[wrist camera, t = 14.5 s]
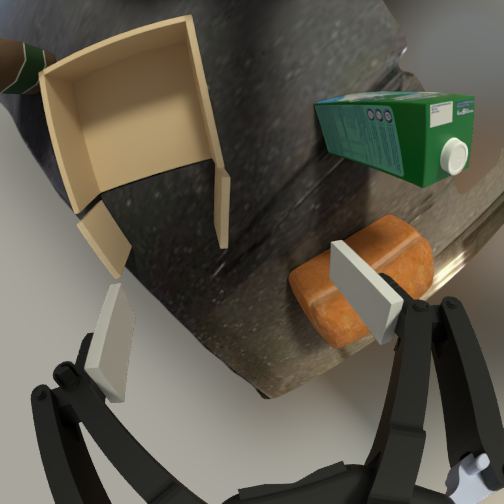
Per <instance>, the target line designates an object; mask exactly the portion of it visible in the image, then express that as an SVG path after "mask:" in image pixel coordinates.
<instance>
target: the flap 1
mask: <svg viewBox="0 0 504 504" xmlns="http://www.w3.org/2000/svg"><path fill="white" fill-rule="evenodd" d="M77 227H78V228H79V230H80V231H81V233H82V234H83V236H84V237H85V239H86V240H87V241H88V243H89V245H90V246H91V247H92V249H93V250H94V252H95V253H96V254H97V256H98V257H99V259H100V260H101V261H102V263H103V264H104V265H105V267H106V268H107V269H108V271H109V272H110V273H111V275H112V276H113V277H114V278H115V279H118V278H119V277H121V274H122V272H123V269H124V266H125V263H126V261H127V258H128V255H129V253H130V250H131V248H132V246H131V245H130V243H129V242H128V240H127V239H126V237H125V236H124V234H123V233H122V231H121V230H120V228H119V227H118V225H117V224H116V222H115V221H114V219H113V218H112V216H111V214H110V213H109V211H108V210H107V208H106V206H105V205H104V203H103V202H102V200H101V201H99V202H98V203H97V204H96V205H95V206H94V207H93V208H92V209H91V210H90V211H89V212H88V213H87V214H86V215H85V216H84V217H83V218H82V219H81V220H80V222H79V223H78V224H77Z"/></svg>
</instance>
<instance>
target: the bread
mask: <svg viewBox="0 0 504 504" xmlns="http://www.w3.org/2000/svg"><path fill="white" fill-rule="evenodd" d="M343 242H344V243H345V244H347V245H348V246H349V247H350V248H351V249H352V250H353V251H354V252H355V253H356V254H357V255H358V256H359V257H361V258H362V259H363V260H364V261H365V262H366V263H367V264H368V265H369V266H370V267H371V268H372V269H373V270H374V271H375V272H376V273H377V274H379V273H384V274H386V275H388V276H390V277H391V278H392V279H393V280H394V281H395V282H397V283H398V284H399V285H400V286H401V287H402V288H403V289H404V290H405V291H406V292H407V293H408V294H409V295H410V296H411V297H412V298H413V299H414V300H415V299H419V298H420V297H421V296H422V295H423V294H424V293H425V292H426V291H427V290H428V289H429V288H430V287H431V285H432V282H433V274H434V272H433V255H432V250H431V246H430V244H429V243H428V241H427V240H426V239H425V238H423V237H421V235H420V233H419V232H418V231H417V230H416V229H414V228H413V227H412V226H411V225H409V224H408V223H406V222H404V221H403V220H401V219H399V218H397V217H395V216H393V215H386V216H383V217H382V218H380V219H379V220H377V221H375V222H374V223H372V224H370V225H368V226H367V227H365V228H363V229H362V230H360V231H358V232H357V233H355V234H353V235H352V236H350V237H348V238H347V239H345V240H343ZM330 255H331V248H330V249H328V250H326V251H324V252H323V253H321V254H319V255H317V256H316V257H314V258H312V259H311V260H309V261H307V262H306V263H304V264H302V265H301V266H299V267H297V268H296V269H294V270H293V271H291V273H290V275H289V278H288V279H289V282H290V285H291V288H292V291H293V293H294V295H295V297H296V299H297V301H298V302H299V304H300V306H301V308H302V310H303V311H304V313H305V314H306V316H307V317H308V319H309V320H310V322H311V323H312V325H313V326H314V328H315V329H316V330H317V332H318V333H319V334H320V335H321V336H322V337H323V338H324V339H325V340H326V341H327V343H328V344H329V345H330V346H331V347H334V348H341V347H344V346H346V345H348V344H350V343H352V342H354V341H357V340H359V339H361V338H363V337H364V336H366V335H368V334H369V333H371V332H370V330H369V329H368V328H367V326H366V325H365V324H364V322H363V321H362V320H361V318H360V317H359V316H358V314H357V313H356V312H355V310H354V309H353V308H352V307H351V305H350V304H349V303H348V301H347V300H346V299H345V297H344V296H343V295H342V294H341V292H340V291H339V290H338V289H337V287H336V286H335V285H334V283H333V282H332V281H331V280H330V278H329V276H330Z"/></svg>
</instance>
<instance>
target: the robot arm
mask: <svg viewBox="0 0 504 504" xmlns="http://www.w3.org/2000/svg"><path fill="white" fill-rule="evenodd" d="M329 278H330V280H331V281H332V282H333V283H334V285H335V286H336V287H337V289H338V290H339V291H340V292H341V294H342V295H343V296H344V297H345V299H346V300H347V301H348V303H349V304H350V305H351V307H352V308H353V309H354V310H355V312H356V313H357V314H358V316H359V317H360V318H361V320H362V321H363V322H364V324H365V325H366V326H367V328H368V329H369V330H370V332H371V333H372V334H373V336H374V337H375V338H376V340H377V341H378V342H379V344H380V345H381V344H384V343H386V342H389V341H391V340H392V338H393V335H394V332H395V333H396V334H397V336H398V339H397V343H396V345H395V348H394V351H395V356H394V362H393V367H392V372H391V377H390V382H389V387H388V391H387V395H386V400H385V404H384V408H383V411H382V415H381V419H380V423H379V426H378V430H377V433H376V436H375V439H374V443H373V446H372V449H371V451H370V453H369V455H368V457H367V459H366V462H365V464H364V465H357V464H349V465H344V463H343V461H341V462H338V463H335V464H333V465H330V466H327V467H324V468H321V469H318V470H317V471H315V472H313V473H311V474H310V475H308V476H306V477H305V478H303V479H301V480H299V481H297V482H295V483H291V484H264V485H258V486H253V487H248V488H242V489H238V491H239V494H236V495H235V496H232V497H230V498H229V499H227V500H226V501H224V502H223V503H222V504H478V503H479V502H480V501H482V500H483V499H484V498H486V497H487V496H489V495H491V494H493V493H495V492H497V491H498V490H500V489H502V488H504V428H503V425H502V421H501V416H500V412H499V407H498V403H497V399H496V396H495V392H494V388H493V385H492V381H491V378H490V375H489V371H488V369H487V365H486V362H485V360H484V357H483V354H482V351H481V348H480V346H479V343H478V340H477V338H476V335H475V333H474V330H473V328H472V325H471V323H470V321H469V318H468V316H467V314H466V311H465V309H464V307H463V305H462V303H461V302H460V301H459V300H458V299H457V298H454V297H449V296H448V297H445V298H443V300H442V302H441V305H433V306H430V305H429V304H428V303H427V302H425V301H423V300H419V299H415V300H414V299H413V298H412V297H411V296H410V295H409V294H408V293H407V292H406V291H405V290H404V289H403V288H402V287H401V286H400V285H399V284H398V283H397V282H395V281H394V280H393V279H392V278H391V277H390V276H388V275H386V274H384V273H379V274H377V273H376V272H375V271H374V270H373V269H372V268H371V267H370V266H369V265H368V264H367V263H366V262H365V261H364V260H363V259H362V258H361V257H359V256H358V255H357V254H356V253H355V252H354V251H353V250H352V249H351V248H350V247H349V246H348V245H347V244H345V243H344V242H343V241H342V240H338V241H333V242H331V255H330V276H329ZM135 318H136V317H135V315H134V313H133V310H132V308H131V306H130V303H129V301H128V299H127V296H126V294H125V291H124V289H123V286H122V284H121V283H117V284H112V285H110V287H109V289H108V292H107V295H106V298H105V301H104V304H103V306H102V309H101V312H100V315H99V318H98V322H97V325H96V328H95V331H94V333H87V335H86V336H85V338H84V339H83V340H82V343H81V347H80V350H79V354H78V356H77V360H76V363H75V365H74V364H73V363H72V362H69V361H66V362H62V363H61V364H59V365H58V366H57V367H56V368H55V370H54V372H53V379H54V380H55V382H56V383H57V384H58V385H59V386H60V387H58V388H55V389H52V390H51V389H50V388H49V387H48V386H47V385H44V384H42V385H39V386H37V387H36V388H35V389H34V390H33V391H32V394H31V405H32V412H33V419H34V425H35V430H36V436H37V441H38V446H39V450H40V454H41V459H42V463H43V466H44V470H45V473H46V477H47V480H48V483H49V487H50V490H51V493H52V495H53V498H54V501H55V504H112V503H111V501H110V499H109V498H108V496H107V493H106V491H105V489H104V488H103V485H102V483H101V481H100V478H99V476H98V474H97V472H96V469H95V467H94V465H93V462H92V460H91V457H90V455H89V452H88V449H87V447H86V444H85V441H84V438H83V435H82V432H81V429H80V426H79V423H80V422H82V423H83V424H84V426H85V427H86V429H87V430H88V432H89V433H90V434H91V436H92V438H93V439H94V441H95V442H96V443H97V445H98V446H99V447H100V449H101V450H102V451H103V453H104V454H105V455H106V456H107V458H108V459H109V460H110V462H111V463H112V464H113V466H114V467H115V468H116V469H117V470H118V471H119V473H120V474H121V475H122V476H123V477H124V479H125V480H126V481H127V482H128V483H129V484H130V485H131V486H132V487H133V489H134V490H135V491H136V492H137V493H138V494H139V495H140V496H141V497H142V498H143V499H144V500H145V501H146V502H147V504H208V503H206V502H205V501H203V500H202V499H200V498H199V497H198V496H197V495H195V494H194V493H193V492H191V491H190V490H189V489H188V488H187V487H185V486H184V485H183V484H182V483H181V482H179V481H178V480H177V479H176V478H175V477H174V476H173V475H172V474H170V473H169V472H168V471H167V470H166V469H165V468H164V467H163V466H162V465H161V464H160V463H158V461H156V460H155V459H154V458H153V457H152V456H151V455H150V454H149V453H148V452H147V451H146V450H145V449H144V448H143V446H141V444H140V443H139V442H138V441H137V440H136V439H135V438H134V437H133V436H132V435H131V434H130V432H128V430H127V429H126V428H125V427H124V426H123V425H122V423H121V422H120V421H119V420H118V419H117V418H116V416H115V415H114V414H113V413H112V411H111V410H110V409H109V408H108V407H107V405H106V404H105V398H107V399H108V400H109V401H110V402H111V403H120V402H124V399H125V388H126V380H127V371H128V363H129V356H130V348H131V342H132V336H133V330H134V323H135ZM431 351H432V355H433V359H434V364H435V369H436V373H437V378H438V383H439V389H440V394H441V400H442V407H443V413H444V421H445V430H446V439H447V451H448V458H449V463H450V467H451V470H450V471H449V473H448V476H447V480H446V482H445V485H446V487H447V492H446V494H442V493H439V492H436V491H433V490H430V489H427V488H424V487H421V486H418V485H415V482H416V478H417V475H418V471H419V467H420V463H421V458H422V454H423V449H424V444H425V439H426V431H424V430H423V423H424V418H425V411H426V404H427V396H428V386H429V376H430V361H431Z"/></svg>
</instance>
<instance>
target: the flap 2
mask: <svg viewBox="0 0 504 504" xmlns="http://www.w3.org/2000/svg"><path fill="white" fill-rule="evenodd" d="M229 200H230V176H229V174H228V173H227V172H226V170H225V169H224V167H222V168H217V166H216V165H215V190H214V226H215V230H216V234H217V238H218V242H219V246H220V249H222V248H228V237H229V236H228V227H229Z"/></svg>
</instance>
